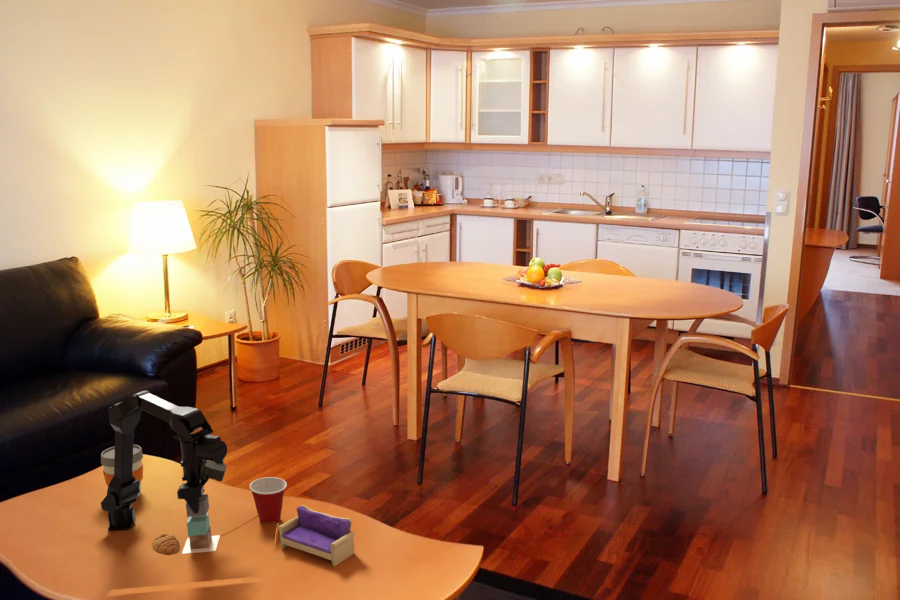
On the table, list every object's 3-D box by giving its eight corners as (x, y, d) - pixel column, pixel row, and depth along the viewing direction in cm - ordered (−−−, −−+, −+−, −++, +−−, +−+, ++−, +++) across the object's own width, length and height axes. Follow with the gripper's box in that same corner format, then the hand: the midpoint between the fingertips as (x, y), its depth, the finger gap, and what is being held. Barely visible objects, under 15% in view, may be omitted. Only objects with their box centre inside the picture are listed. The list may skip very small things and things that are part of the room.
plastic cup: (277, 532, 240) (274, 493, 238) (245, 527, 244) (241, 488, 241) (296, 515, 250) (293, 478, 248) (265, 511, 254) (262, 474, 251)
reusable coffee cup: (111, 488, 274) (106, 445, 271) (151, 485, 275) (146, 442, 272) (100, 505, 261) (94, 460, 258) (141, 502, 263) (136, 457, 260)
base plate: (182, 557, 227) (181, 553, 227) (187, 541, 236) (187, 538, 236) (215, 554, 228) (215, 550, 228) (220, 539, 237) (220, 535, 237)
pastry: (186, 554, 230) (185, 541, 229) (162, 562, 225) (161, 549, 225) (173, 542, 237) (171, 529, 236) (149, 550, 232) (148, 537, 232)
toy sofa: (278, 548, 231) (275, 514, 229) (300, 535, 238) (298, 502, 236) (335, 568, 219) (333, 532, 217) (356, 554, 226) (354, 519, 224)
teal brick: (188, 536, 228) (186, 522, 227) (191, 527, 233) (189, 514, 232) (206, 534, 229) (205, 521, 228) (209, 526, 234) (208, 512, 233)
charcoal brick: (187, 516, 227) (185, 503, 226) (190, 508, 232) (189, 495, 231) (205, 515, 228) (204, 502, 227) (209, 507, 233) (207, 494, 232)
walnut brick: (190, 549, 229) (189, 536, 228) (193, 540, 234) (192, 527, 233) (209, 547, 230) (207, 534, 229) (211, 539, 234) (210, 526, 234)
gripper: (218, 466, 218) (223, 521, 222) (227, 441, 237) (231, 492, 240) (174, 469, 217) (179, 525, 220) (187, 443, 235) (192, 495, 238)
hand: (197, 508), depth 230 cm, fingers closed on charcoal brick, 5 cm apart
